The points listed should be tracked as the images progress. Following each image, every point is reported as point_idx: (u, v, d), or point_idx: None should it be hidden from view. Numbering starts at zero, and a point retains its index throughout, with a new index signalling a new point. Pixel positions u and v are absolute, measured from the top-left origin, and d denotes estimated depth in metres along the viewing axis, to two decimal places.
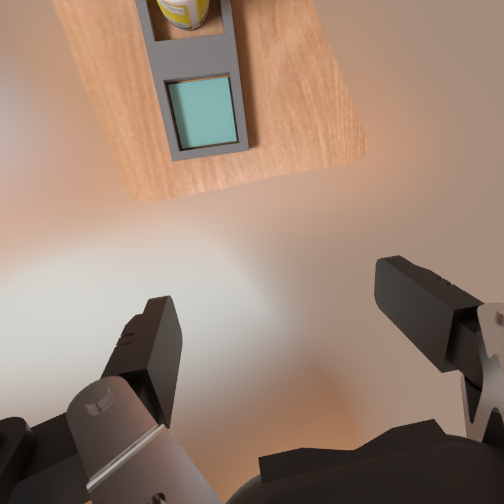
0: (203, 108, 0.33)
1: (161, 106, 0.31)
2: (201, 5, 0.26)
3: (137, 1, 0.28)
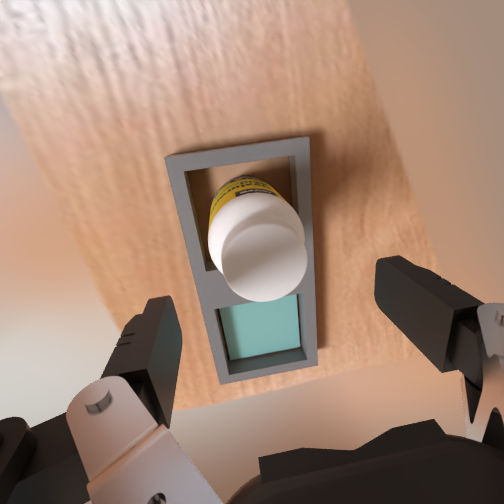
0: (261, 320, 0.25)
1: (209, 335, 0.23)
2: None
3: (185, 231, 0.20)
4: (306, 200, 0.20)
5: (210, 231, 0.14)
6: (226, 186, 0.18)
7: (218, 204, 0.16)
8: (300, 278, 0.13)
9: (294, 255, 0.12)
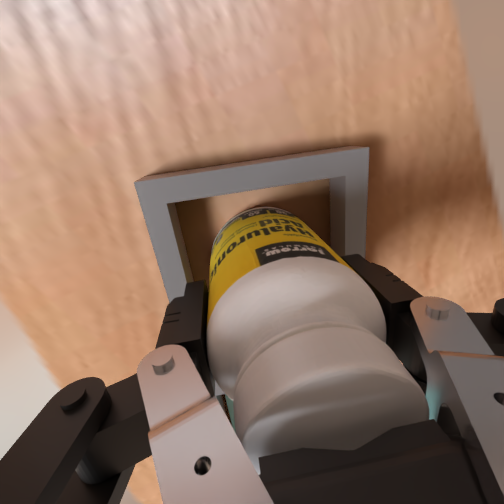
0: None
1: None
2: None
3: (171, 293, 0.13)
4: (357, 243, 0.13)
5: (210, 332, 0.07)
6: (236, 226, 0.12)
7: (224, 268, 0.09)
8: None
9: (402, 421, 0.05)
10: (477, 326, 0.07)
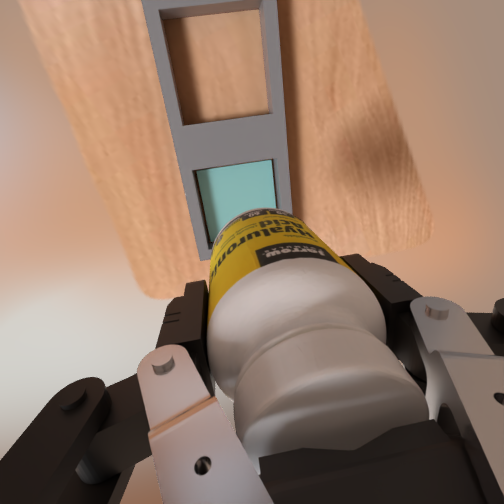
0: (239, 196, 0.27)
1: (188, 200, 0.25)
2: None
3: (161, 78, 0.21)
4: (275, 50, 0.21)
5: (211, 333, 0.07)
6: (236, 227, 0.12)
7: (225, 269, 0.09)
8: None
9: (402, 422, 0.05)
10: (477, 326, 0.07)
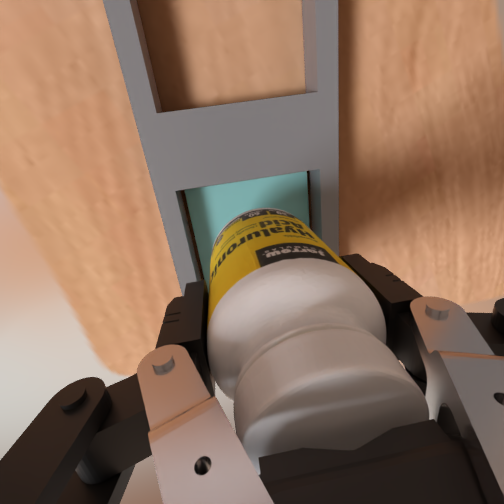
0: None
1: (170, 240, 0.15)
2: None
3: (113, 21, 0.11)
4: None
5: (211, 333, 0.07)
6: (236, 227, 0.12)
7: (225, 269, 0.09)
8: None
9: (402, 422, 0.05)
10: (477, 326, 0.07)
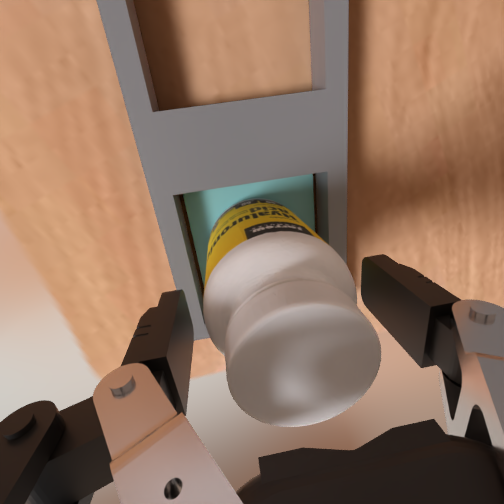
0: None
1: (168, 247, 0.14)
2: None
3: (105, 11, 0.10)
4: None
5: (206, 296, 0.09)
6: (229, 214, 0.13)
7: (218, 246, 0.10)
8: (366, 387, 0.07)
9: (358, 352, 0.07)
10: None
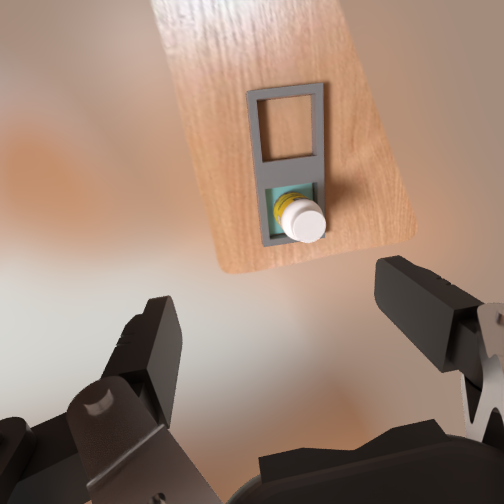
0: None
1: (260, 207, 0.39)
2: None
3: (253, 135, 0.35)
4: (320, 120, 0.36)
5: (283, 215, 0.34)
6: (283, 196, 0.38)
7: (284, 204, 0.36)
8: (323, 232, 0.33)
9: (320, 223, 0.32)
10: None
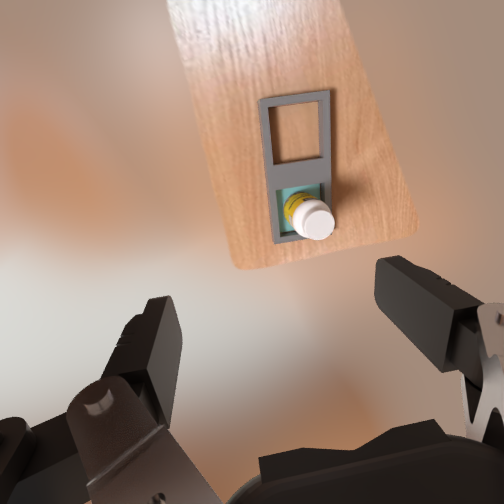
0: None
1: (271, 207, 0.42)
2: None
3: (265, 140, 0.38)
4: (327, 125, 0.38)
5: (294, 215, 0.37)
6: (293, 196, 0.41)
7: (294, 204, 0.38)
8: (332, 230, 0.35)
9: (330, 221, 0.35)
10: None
